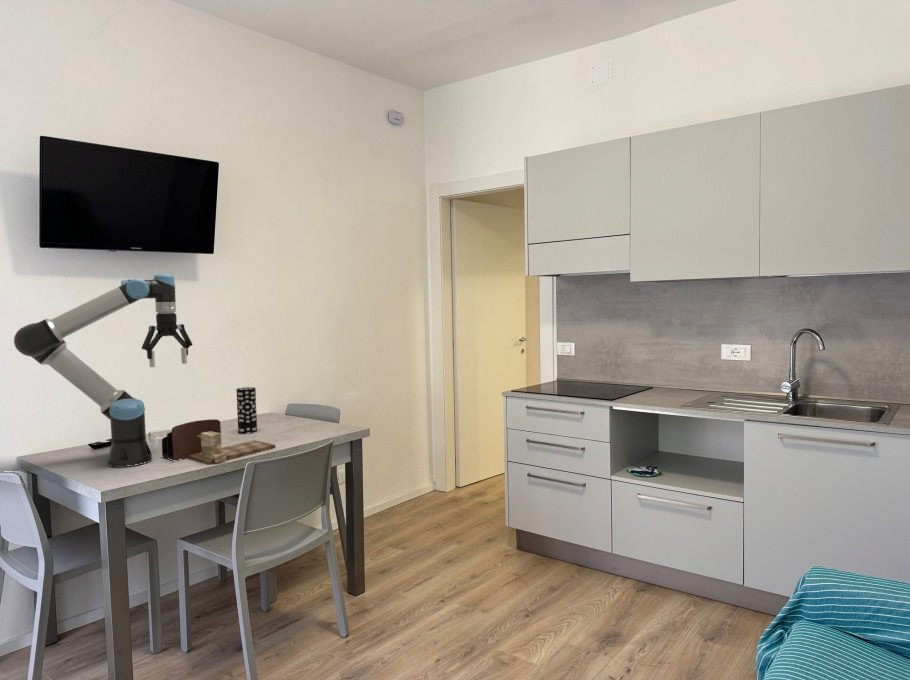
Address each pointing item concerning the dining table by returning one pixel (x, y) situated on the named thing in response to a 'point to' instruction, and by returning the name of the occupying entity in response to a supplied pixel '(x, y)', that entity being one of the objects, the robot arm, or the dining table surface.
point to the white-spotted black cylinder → (246, 410)
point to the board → (236, 451)
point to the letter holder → (187, 438)
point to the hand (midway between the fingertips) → (168, 365)
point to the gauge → (212, 446)
